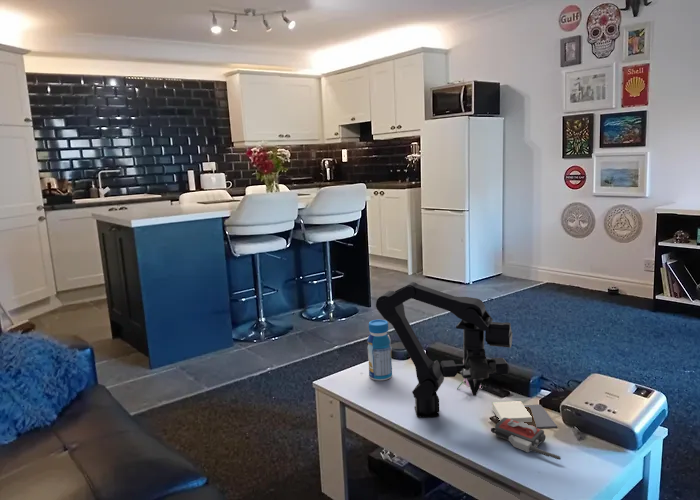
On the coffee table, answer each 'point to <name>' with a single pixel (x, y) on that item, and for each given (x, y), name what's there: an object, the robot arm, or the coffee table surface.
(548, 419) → the mat
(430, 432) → the coffee table surface
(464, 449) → the coffee table surface
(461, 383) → the lily
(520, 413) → the tile
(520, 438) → the walkie-talkie
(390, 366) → the beverage bottle
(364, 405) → the coffee table surface
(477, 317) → the robot arm
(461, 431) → the coffee table surface
